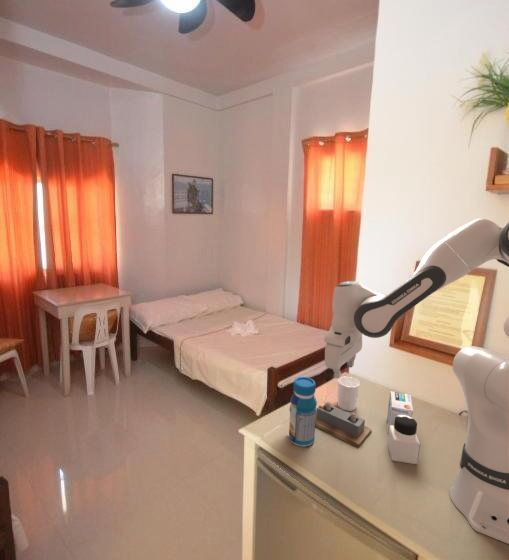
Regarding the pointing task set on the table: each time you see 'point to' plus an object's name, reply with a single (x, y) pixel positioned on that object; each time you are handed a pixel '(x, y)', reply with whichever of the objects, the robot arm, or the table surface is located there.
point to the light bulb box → (398, 407)
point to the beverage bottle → (303, 412)
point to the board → (342, 434)
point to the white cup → (347, 393)
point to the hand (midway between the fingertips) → (344, 371)
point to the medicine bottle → (403, 440)
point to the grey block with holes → (340, 420)
